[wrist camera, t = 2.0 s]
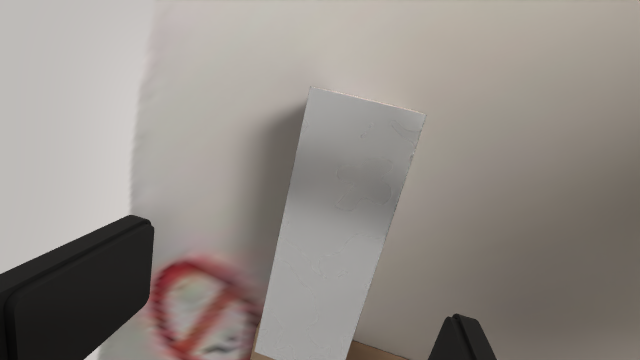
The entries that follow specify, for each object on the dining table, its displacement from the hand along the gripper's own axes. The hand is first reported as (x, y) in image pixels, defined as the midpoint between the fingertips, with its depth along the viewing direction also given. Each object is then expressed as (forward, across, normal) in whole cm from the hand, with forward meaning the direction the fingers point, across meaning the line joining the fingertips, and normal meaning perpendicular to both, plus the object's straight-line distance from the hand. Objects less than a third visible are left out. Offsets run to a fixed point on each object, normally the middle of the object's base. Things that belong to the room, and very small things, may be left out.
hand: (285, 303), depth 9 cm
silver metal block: (+8, -1, 0) cm, 8 cm away
